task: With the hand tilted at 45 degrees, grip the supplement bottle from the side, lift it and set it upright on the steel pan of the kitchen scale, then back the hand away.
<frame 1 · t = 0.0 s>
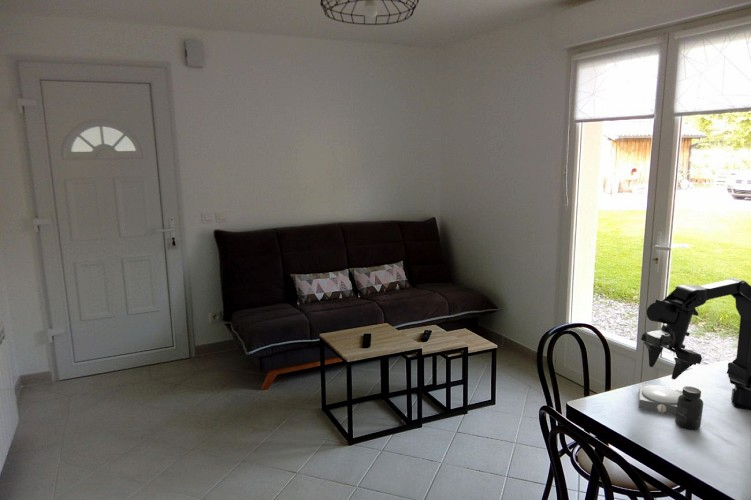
hand: (661, 372, 163), 15 cm above the table, tool pointing down, fingers open, 9 cm apart
supplement bottle: (687, 425, 162), on the table
kitchen scale: (660, 403, 175), on the table
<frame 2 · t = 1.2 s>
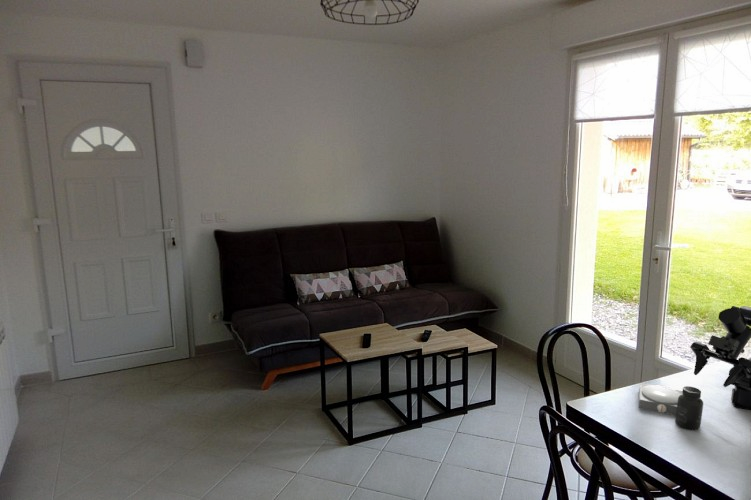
hand: (709, 380, 162), 13 cm above the table, tool tilted 45°, fingers open, 9 cm apart
nothing on the table moved.
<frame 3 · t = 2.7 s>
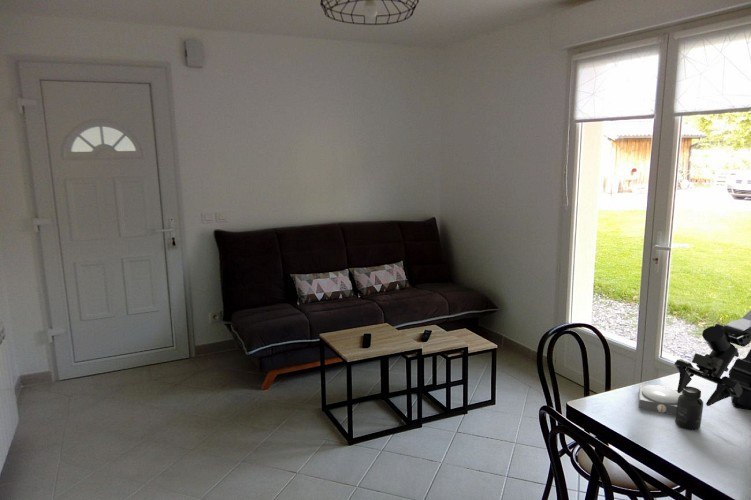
hand: (692, 398, 160), 9 cm above the table, tool tilted 45°, fingers open, 9 cm apart
nothing on the table moved.
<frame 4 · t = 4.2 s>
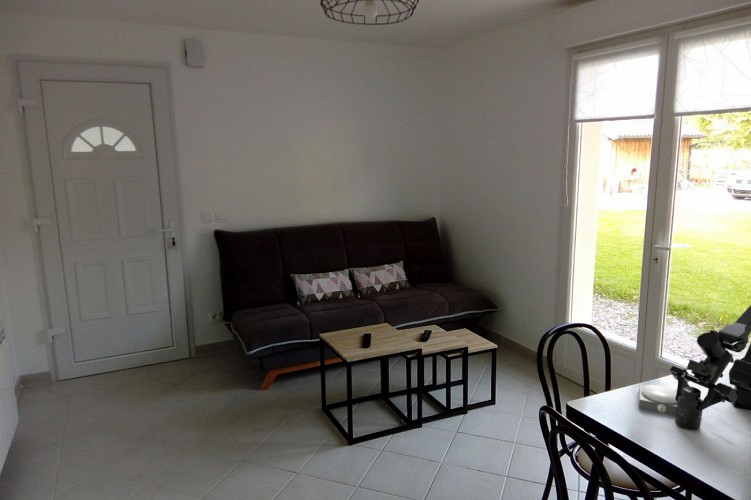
hand: (687, 405, 159), 7 cm above the table, tool tilted 45°, fingers closed on supplement bottle, 7 cm apart
supplement bottle: (687, 425, 162), on the table, touching gripper
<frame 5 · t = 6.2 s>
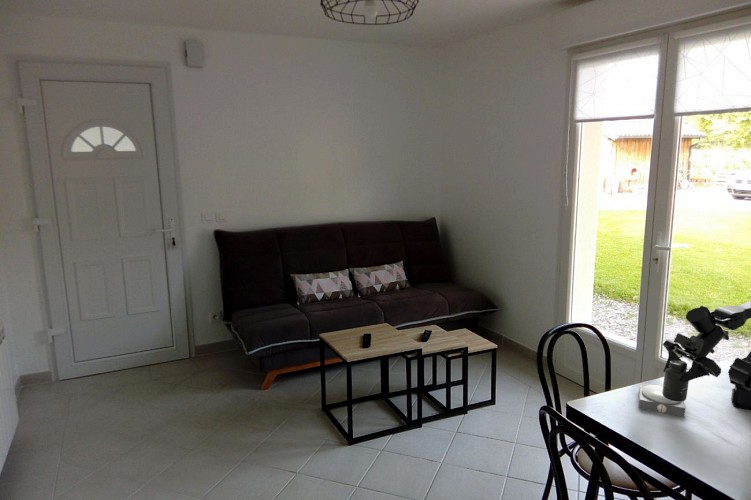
hand: (672, 377, 165), 13 cm above the table, tool tilted 45°, fingers closed on supplement bottle, 7 cm apart
supplement bottle: (674, 397, 167), point 6 cm above the table, touching gripper
when the fingers open (12 cm above the table, at t = 8.0 s): supplement bottle stays where it is, resting on kitchen scale.
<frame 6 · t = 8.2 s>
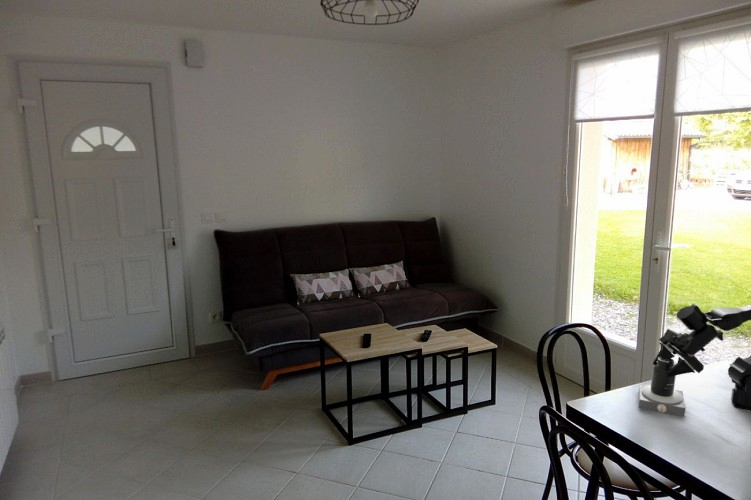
hand: (660, 370, 173), 12 cm above the table, tool tilted 45°, fingers open, 9 cm apart
supplement bottle: (661, 393, 175), point 4 cm above the table, touching kitchen scale
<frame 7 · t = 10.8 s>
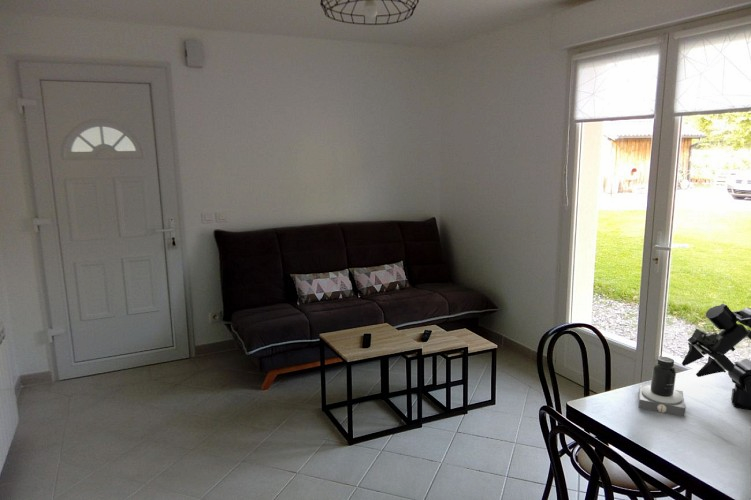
hand: (689, 370, 172), 12 cm above the table, tool tilted 45°, fingers open, 9 cm apart
nothing on the table moved.
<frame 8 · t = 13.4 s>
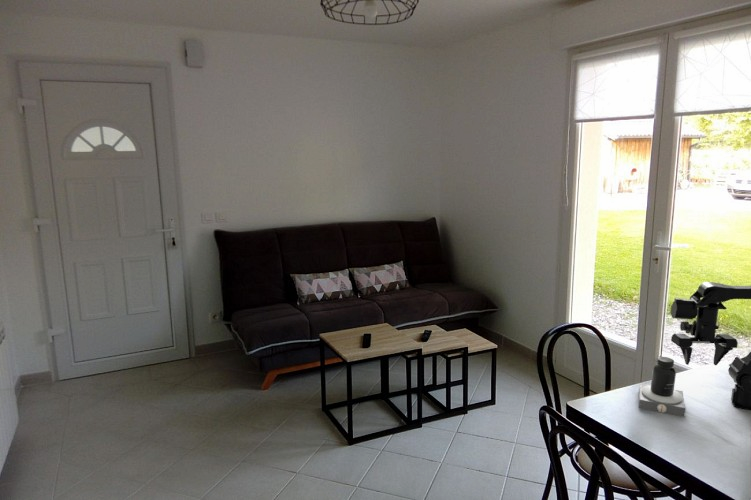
hand: (700, 364, 175), 13 cm above the table, tool pointing down, fingers open, 9 cm apart
nothing on the table moved.
at the end: supplement bottle inside the target area on the kitchen scale (0.3 cm from its centre), point 3.6 cm above the kitchen scale's base; supplement bottle tilted 0°; the gripper is holding nothing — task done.
